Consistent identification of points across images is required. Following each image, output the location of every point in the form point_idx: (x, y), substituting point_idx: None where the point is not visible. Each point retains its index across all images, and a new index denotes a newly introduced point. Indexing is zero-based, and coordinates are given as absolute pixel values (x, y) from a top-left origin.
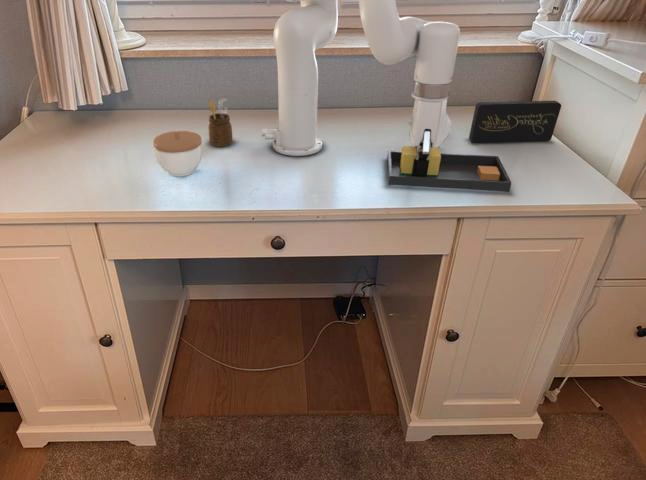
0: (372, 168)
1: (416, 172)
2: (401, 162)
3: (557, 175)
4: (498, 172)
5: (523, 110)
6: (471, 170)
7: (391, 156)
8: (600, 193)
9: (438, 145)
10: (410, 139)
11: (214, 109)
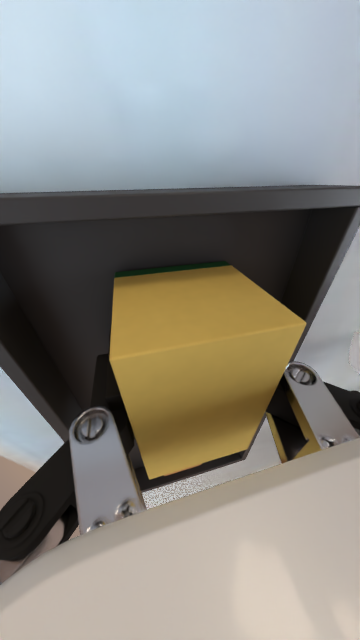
0: (237, 52)
1: (104, 355)
2: (179, 288)
3: (204, 476)
4: (171, 473)
5: None
6: None
7: (326, 212)
8: (157, 503)
9: (352, 358)
10: (224, 545)
11: None
